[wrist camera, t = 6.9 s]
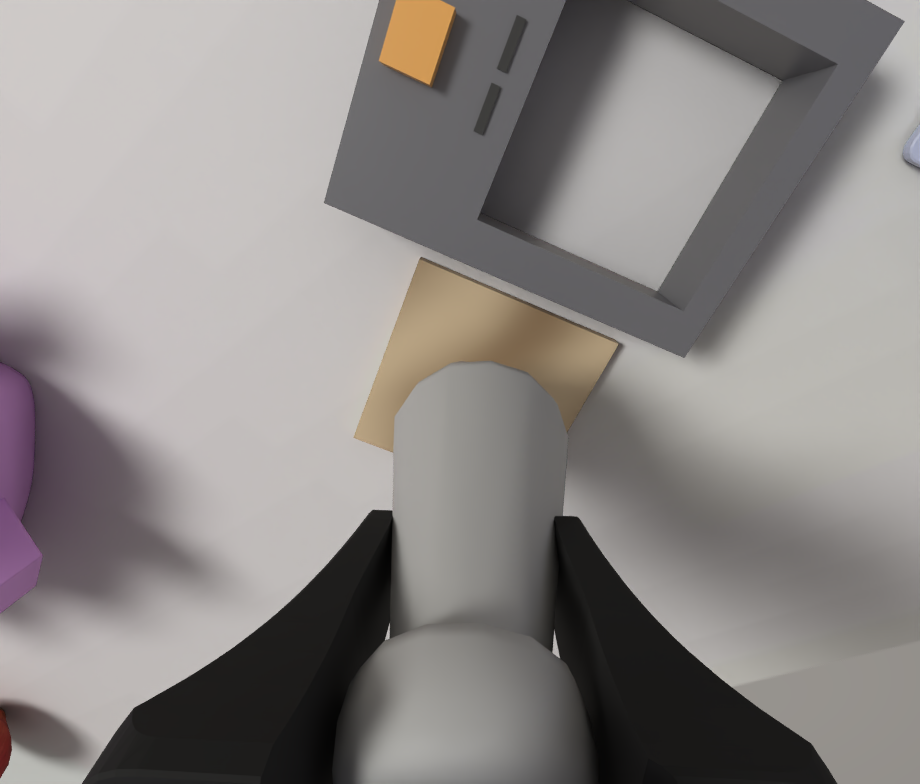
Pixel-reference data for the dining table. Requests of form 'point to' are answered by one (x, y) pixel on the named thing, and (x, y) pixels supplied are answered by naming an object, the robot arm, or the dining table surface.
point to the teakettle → (16, 487)
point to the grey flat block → (500, 103)
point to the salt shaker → (471, 598)
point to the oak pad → (479, 346)
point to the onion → (4, 743)
